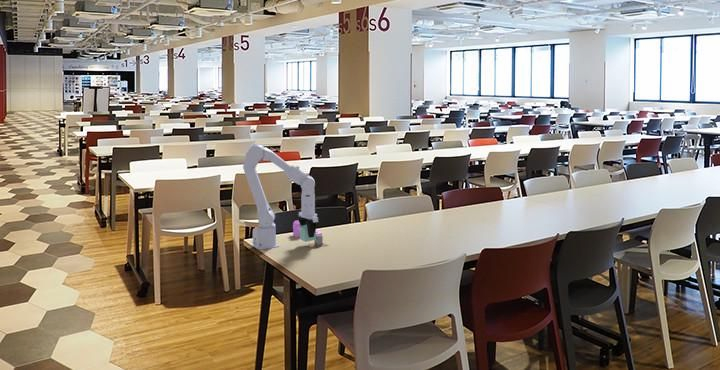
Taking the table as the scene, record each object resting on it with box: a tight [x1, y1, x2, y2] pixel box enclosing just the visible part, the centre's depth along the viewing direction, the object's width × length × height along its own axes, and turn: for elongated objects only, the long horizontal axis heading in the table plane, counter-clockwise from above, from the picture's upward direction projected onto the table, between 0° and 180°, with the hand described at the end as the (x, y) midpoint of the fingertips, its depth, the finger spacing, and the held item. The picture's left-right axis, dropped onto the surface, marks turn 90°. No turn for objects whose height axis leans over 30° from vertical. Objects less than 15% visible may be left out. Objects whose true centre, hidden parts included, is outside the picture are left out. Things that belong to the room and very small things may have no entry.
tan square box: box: [308, 234, 329, 248], centre depth 273 cm, size 6×6×4 cm
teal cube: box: [299, 225, 317, 243], centre depth 271 cm, size 5×5×6 cm
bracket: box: [292, 220, 323, 238], centre depth 291 cm, size 13×6×7 cm, turn 104°
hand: (308, 235), depth 271 cm, fingers closed on teal cube, 5 cm apart
